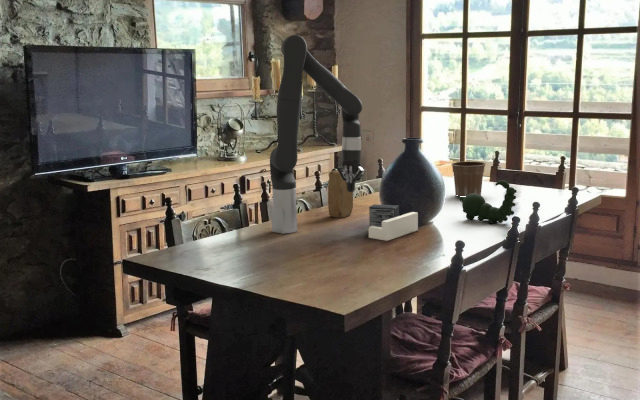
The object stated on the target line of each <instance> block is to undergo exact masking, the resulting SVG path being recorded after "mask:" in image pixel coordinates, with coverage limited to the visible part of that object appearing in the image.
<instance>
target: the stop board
mask: <svg viewBox="0 0 640 400" xmlns="http://www.w3.org/2000/svg"><path fill="white" fill-rule="evenodd" d="M416 231H419V213H418V212H417V211H416V212H415V211H410V212H407V213H404V214H402V215H399V216H397V217H394V218H391V219H388V220H384V221H382V227H377V226H371V227H370V226H369V227H368V239H369V238H370V239H376V240H381V241H390V240H393V239H396V238H399V237H402V236H405V235H408V234H411V233H415V232H416Z"/></svg>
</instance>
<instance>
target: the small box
mask: <svg viewBox="0 0 640 400" xmlns="http://www.w3.org/2000/svg"><path fill="white" fill-rule="evenodd" d="M368 209H369V211H368V212H369V213H368V214H369V216H368V217H369V218H368V219H369V227H371V226H377V227H382V221H384V220H388V219H391V218H394V217H397V216H400V205H395V204H394V205H393V204H377V203H375V204H372V205H370V206H369V207H368Z"/></svg>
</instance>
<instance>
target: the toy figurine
mask: <svg viewBox="0 0 640 400" xmlns="http://www.w3.org/2000/svg"><path fill="white" fill-rule="evenodd" d="M495 186H502V188H503V189H506V190H505V194H504V196H503V197H504V198H503V200H502V203H501V205H500V207H496V206H493V205H491V203H488V202H486V199H485V198H484V197H483V196H482V194H481V195H479V194H476V193H472V194H469V195H467V196H466V197H460V196H458V197H457V199H458V201H460V202H461V205H462V206H461V207H462V212H463V213H465V214H466V215H465V217H466V220H468V219H472V220H474V219H475V217H477V221H478V222H480V223H481V222H483V221H484V220H485V221H486V220H487V223H488V224H489V223H492V224H493V223H497V221H498V223H499V224H502V223H503V222H507V221H508V217H510V216H514V214H515V211H514V210H513V209H512V208H513V207H515V206H517V205H516V202H514V201H515V200H516V199H517V196H516V195H515V194H516V193H517V190H516V189H515V188H514V187H512V186H510V183H509V182H508V181H506V180H498V181H496V182H495ZM507 216H508V217H507Z"/></svg>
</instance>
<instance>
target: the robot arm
mask: <svg viewBox="0 0 640 400" xmlns="http://www.w3.org/2000/svg"><path fill="white" fill-rule="evenodd" d="M280 49H281V54H282V56H283V72H282V77H281V79H280V84H279V87H278V93H277V101H276V120H277V121H276V122H277V128H278V141H277V146H276V147H275V148H273V149H272V150H271V152H270V156H269V169H270V170H269V171H270V172H269V173H270V181H271V184H272V185H271V186H272V187H271V188H272V208H271V211H270V212H271V213H270V214H271V232H272V233H277V234H282V235H283V234H291V233H295V232H297V231H298V217H297V216H298V214H297V213H298V211H297V181H296V179H295V175H294V169H295V168H296V166H297V163H298V133H299V126H300V119H301V111H302V101H303V100H302V99H303V72H304V73H306V74H307V75H308V76H309V77H310V78H311V80H313V81H314V82H315V83H316V85H318V86H319V88H320V89H321V90H323V92H324V93H326V95H327V96H329V97H330V98H331V99H332V100H333V101H335V102H336V103H338V105H339V106H341V119H342V141H341V160H342V163H341V165H340V166H339V167H337V169H336V170H338V172H339V173H340V175H341V177H342V179H343V180H345V181H346V182H347V190H348V192H353V193H354V192H355V190H356V183H357V182H359V181H360V180H361V179H362V178H363V176H364V174H365V173H366V169H363V167H362V164H361V160H362V140H361V139H362V137H361V136H362V135H361V134H362V131H361V130H362V129H361V127H362V126H361V123H360V113H361V112H362V110H363V103H362V101H361V100H360V98H359V97H358V96H357V95H356V94H354V93H353V92H352V91H351V90H350V89H348V88H347V87H346V86H345V85H344V83H343V82H341V80H340V79H339V78H338V77H336V76H335V74H334V73H332V72H331V71H330V70H329V69H327V68H326V67H325V66H324V65H322V64H321V63H320V62H319V61H318V60H317V59H316V58H315V57H314V56H313V55H312V54H311V52H310V51H309V50H308V44H307V41H306V39H304V37H302V36H301V35H299V34H292V35H289V36H288V37H285V38H284V40H282V43H281V48H280Z"/></svg>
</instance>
